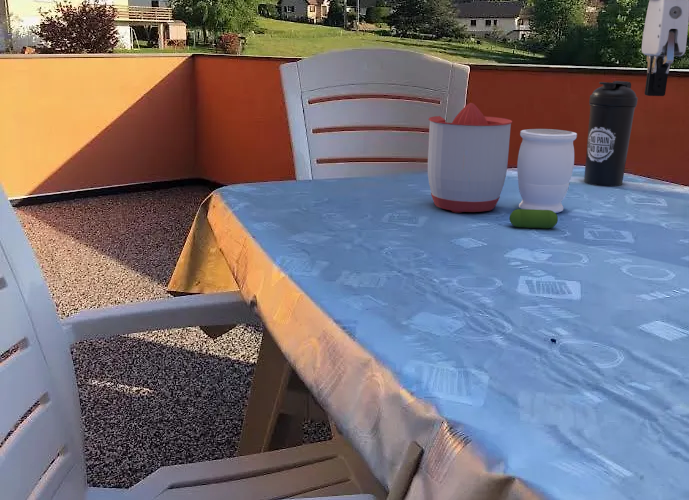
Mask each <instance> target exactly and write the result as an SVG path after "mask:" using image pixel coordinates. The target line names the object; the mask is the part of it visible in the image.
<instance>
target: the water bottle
mask: <svg viewBox="0 0 689 500" xmlns="http://www.w3.org/2000/svg"><path fill="white" fill-rule="evenodd" d="M598 84H599V85H602V86H600V87H597V88H596V89H594V90H593V91H592V93H591V94H590V95H589V101H588V105H589V117H588V118H589V119H588V130H587V139H586V140H587V141H586V153H585V165H584V175H583V182H584V183H585V184H588V185H593V186H598V187H599V186H600V187H619V186H622V185H623V181H624V176H625V169H626V163H627V157H628V152H629V145H630V139H631V133H632V127H633V122H634V121H633V120H634V114H635V109H636V108H637V105H638V100H639V97H638V96H637V94H636V92H635V91H634V90H633V89H632V83H631V81H623V80H614V81H612V82H610V81H609V82H607V81H599V82H598Z"/></svg>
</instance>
